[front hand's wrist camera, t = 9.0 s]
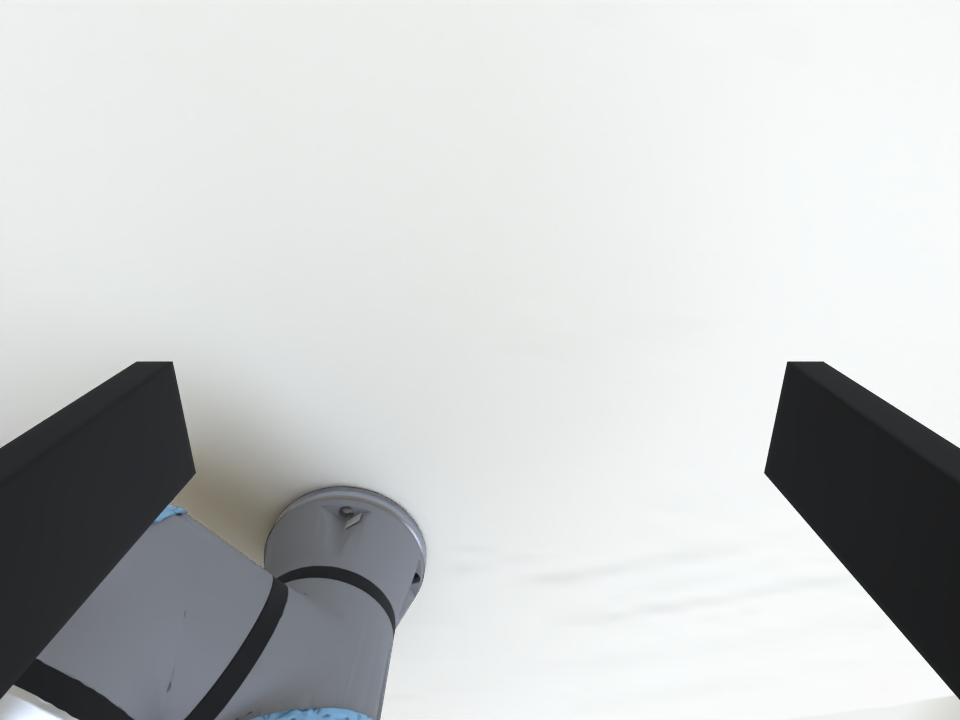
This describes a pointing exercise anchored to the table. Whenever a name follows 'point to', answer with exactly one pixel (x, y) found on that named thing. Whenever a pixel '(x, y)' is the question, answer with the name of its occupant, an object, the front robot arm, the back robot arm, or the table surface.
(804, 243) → the table surface
